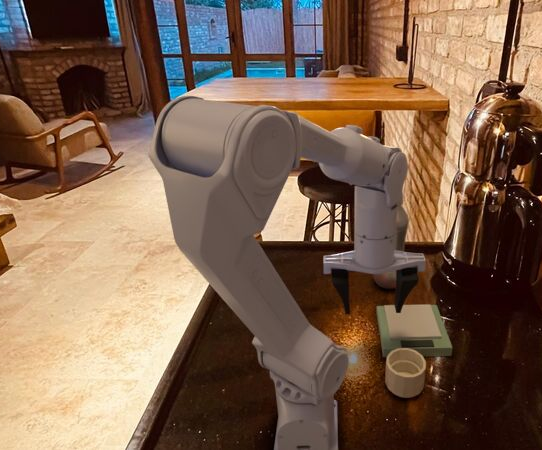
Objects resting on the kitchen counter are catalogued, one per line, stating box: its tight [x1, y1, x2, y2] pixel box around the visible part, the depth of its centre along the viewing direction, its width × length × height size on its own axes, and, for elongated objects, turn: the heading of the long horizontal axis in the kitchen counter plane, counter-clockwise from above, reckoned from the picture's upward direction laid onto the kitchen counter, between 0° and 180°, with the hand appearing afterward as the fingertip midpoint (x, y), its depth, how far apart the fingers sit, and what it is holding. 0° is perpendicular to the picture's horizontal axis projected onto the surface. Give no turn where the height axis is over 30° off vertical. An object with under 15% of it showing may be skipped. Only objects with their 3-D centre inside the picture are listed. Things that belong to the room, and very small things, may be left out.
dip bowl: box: [384, 348, 427, 399], centre depth 59 cm, size 6×6×4 cm
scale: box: [375, 303, 453, 358], centre depth 70 cm, size 11×11×2 cm
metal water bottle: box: [372, 192, 410, 290], centre depth 79 cm, size 6×7×20 cm
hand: (372, 309), depth 62 cm, fingers open, 7 cm apart
